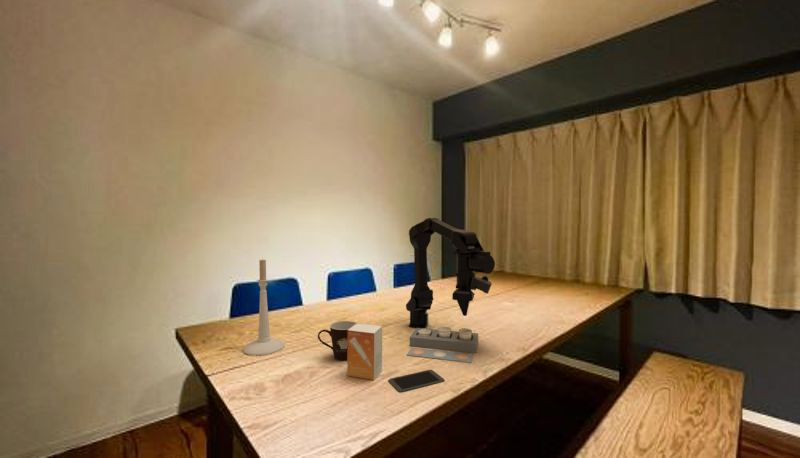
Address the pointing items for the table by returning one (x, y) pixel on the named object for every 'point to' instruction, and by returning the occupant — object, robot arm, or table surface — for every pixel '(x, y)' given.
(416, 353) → the pattern card
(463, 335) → the right button
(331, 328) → the coffee mug
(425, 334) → the left button
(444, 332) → the middle button
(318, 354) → the table surface
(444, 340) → the button panel
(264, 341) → the candlestick
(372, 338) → the small box
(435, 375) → the cell phone
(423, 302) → the robot arm
